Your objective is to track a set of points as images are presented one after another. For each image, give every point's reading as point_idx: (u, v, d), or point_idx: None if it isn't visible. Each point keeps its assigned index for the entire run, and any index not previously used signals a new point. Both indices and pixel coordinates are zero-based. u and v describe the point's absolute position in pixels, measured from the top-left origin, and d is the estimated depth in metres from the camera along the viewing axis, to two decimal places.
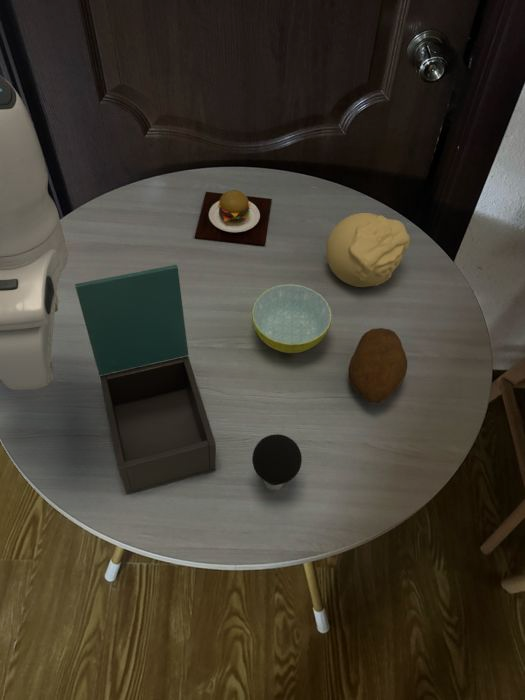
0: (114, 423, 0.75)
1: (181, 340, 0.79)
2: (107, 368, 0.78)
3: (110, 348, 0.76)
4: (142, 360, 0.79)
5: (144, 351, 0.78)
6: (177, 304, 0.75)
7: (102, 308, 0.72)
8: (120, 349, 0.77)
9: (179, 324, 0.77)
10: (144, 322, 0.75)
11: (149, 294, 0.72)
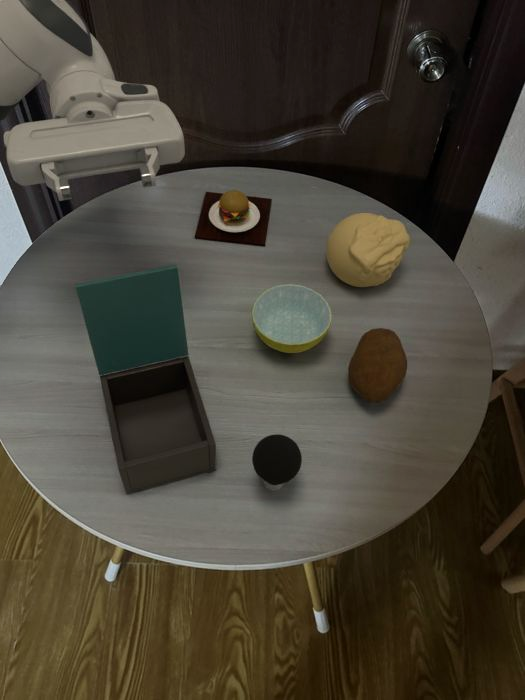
0: (114, 423, 0.75)
1: (181, 340, 0.79)
2: (107, 368, 0.78)
3: (110, 348, 0.76)
4: (142, 360, 0.79)
5: (144, 351, 0.78)
6: (177, 304, 0.75)
7: (102, 308, 0.72)
8: (120, 349, 0.77)
9: (179, 324, 0.77)
10: (144, 322, 0.75)
11: (149, 294, 0.72)
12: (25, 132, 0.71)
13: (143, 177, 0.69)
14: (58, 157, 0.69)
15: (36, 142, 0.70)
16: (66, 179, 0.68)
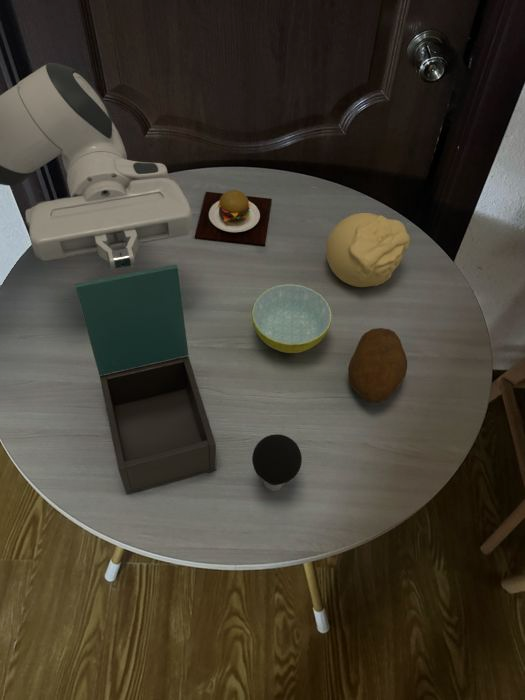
0: (114, 423, 0.75)
1: (181, 340, 0.79)
2: (107, 368, 0.78)
3: (110, 348, 0.76)
4: (142, 360, 0.79)
5: (144, 351, 0.78)
6: (177, 304, 0.75)
7: (102, 308, 0.72)
8: (120, 349, 0.77)
9: (179, 324, 0.77)
10: (144, 322, 0.75)
11: (149, 294, 0.72)
12: (46, 211, 0.77)
13: (123, 259, 0.75)
14: (77, 236, 0.75)
15: (56, 221, 0.76)
16: (118, 251, 0.75)
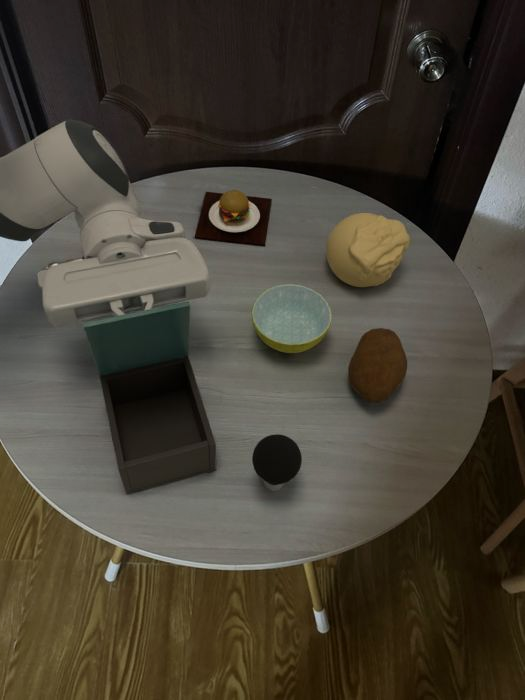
0: (114, 423, 0.75)
1: (183, 348, 0.78)
2: (108, 371, 0.78)
3: (113, 360, 0.75)
4: (143, 363, 0.79)
5: (146, 358, 0.78)
6: (184, 327, 0.73)
7: (109, 337, 0.69)
8: (122, 359, 0.76)
9: (183, 339, 0.76)
10: (149, 341, 0.73)
11: (157, 324, 0.70)
12: (59, 275, 0.75)
13: None
14: (92, 302, 0.73)
15: (70, 286, 0.74)
16: None
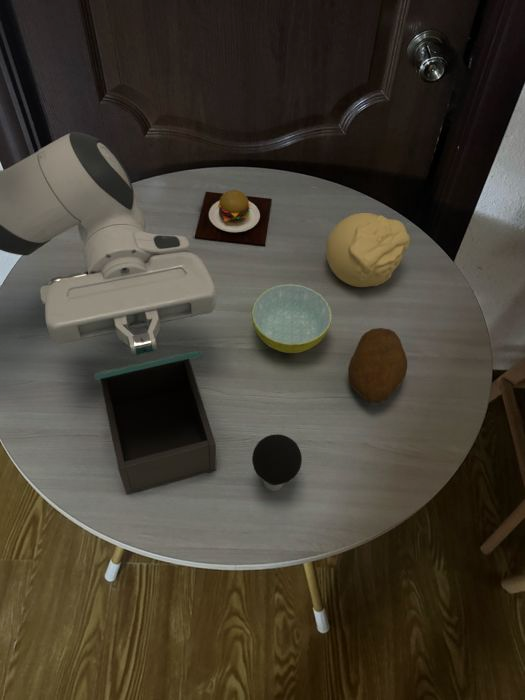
0: (114, 423, 0.75)
1: None
2: None
3: None
4: None
5: None
6: None
7: None
8: None
9: None
10: None
11: None
12: (63, 291, 0.73)
13: (144, 345, 0.70)
14: (96, 319, 0.71)
15: (74, 302, 0.72)
16: (139, 335, 0.71)
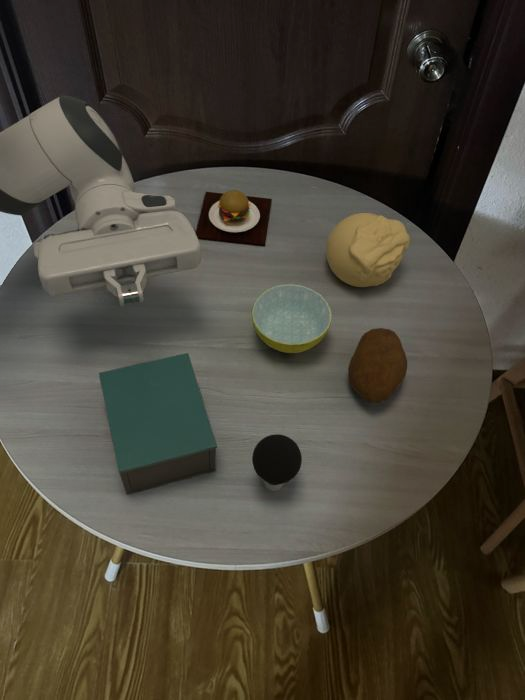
0: None
1: None
2: None
3: None
4: None
5: None
6: None
7: None
8: None
9: None
10: None
11: None
12: (55, 246, 0.77)
13: (131, 295, 0.74)
14: (86, 271, 0.75)
15: (65, 256, 0.76)
16: (127, 286, 0.75)
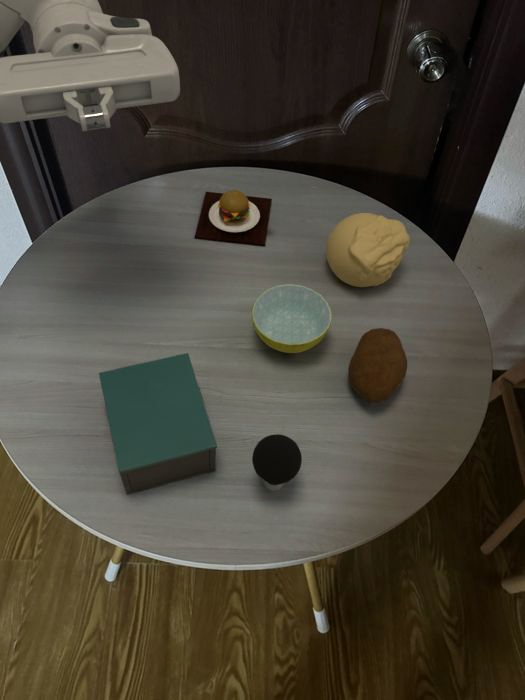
0: None
1: None
2: None
3: None
4: None
5: None
6: None
7: None
8: None
9: None
10: None
11: None
12: (6, 65, 0.65)
13: (95, 116, 0.62)
14: (41, 90, 0.63)
15: (17, 75, 0.64)
16: (90, 107, 0.63)
